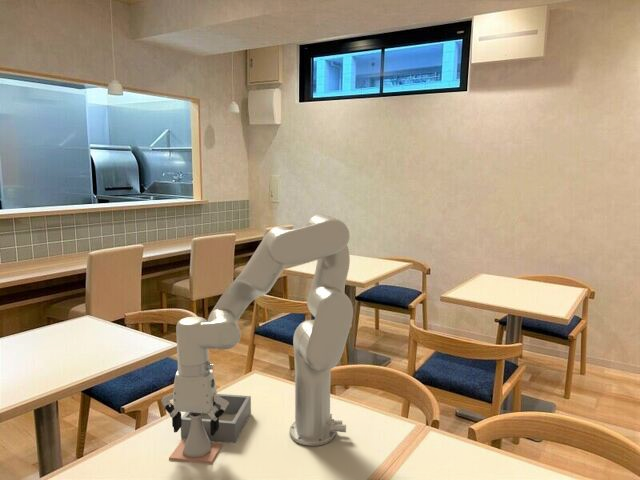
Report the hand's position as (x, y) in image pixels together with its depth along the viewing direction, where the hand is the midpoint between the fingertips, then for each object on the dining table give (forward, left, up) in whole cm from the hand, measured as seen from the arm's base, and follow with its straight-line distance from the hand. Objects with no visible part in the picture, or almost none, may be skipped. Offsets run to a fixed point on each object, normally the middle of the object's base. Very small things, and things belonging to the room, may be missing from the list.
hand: (195, 431), depth 118 cm
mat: (0, 0, -6) cm, 6 cm away
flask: (0, 0, -5) cm, 5 cm away
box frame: (-1, -13, -6) cm, 14 cm away
